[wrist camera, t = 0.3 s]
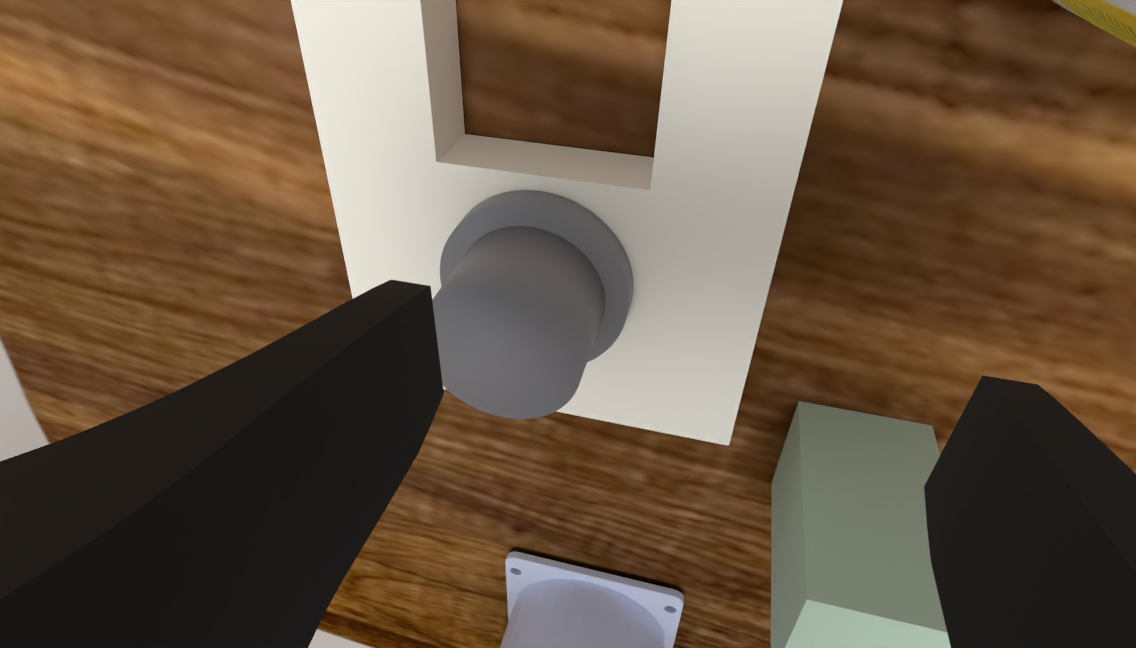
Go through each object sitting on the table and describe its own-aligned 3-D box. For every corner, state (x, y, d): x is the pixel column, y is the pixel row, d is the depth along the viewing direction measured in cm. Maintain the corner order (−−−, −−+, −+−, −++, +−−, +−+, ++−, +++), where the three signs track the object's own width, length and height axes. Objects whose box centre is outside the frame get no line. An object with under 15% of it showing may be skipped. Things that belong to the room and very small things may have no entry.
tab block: (890, 507, 23) (926, 719, 17) (771, 482, 23) (770, 679, 18) (932, 425, 20) (990, 642, 15) (798, 401, 21) (806, 599, 16)
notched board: (731, 401, 22) (721, 542, 17) (394, 338, 24) (311, 449, 19) (872, -169, 13) (922, -169, 8) (307, -188, 15) (114, -196, 10)
